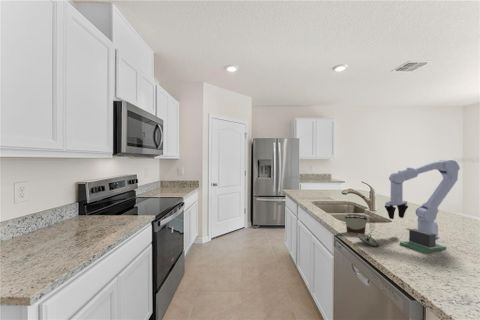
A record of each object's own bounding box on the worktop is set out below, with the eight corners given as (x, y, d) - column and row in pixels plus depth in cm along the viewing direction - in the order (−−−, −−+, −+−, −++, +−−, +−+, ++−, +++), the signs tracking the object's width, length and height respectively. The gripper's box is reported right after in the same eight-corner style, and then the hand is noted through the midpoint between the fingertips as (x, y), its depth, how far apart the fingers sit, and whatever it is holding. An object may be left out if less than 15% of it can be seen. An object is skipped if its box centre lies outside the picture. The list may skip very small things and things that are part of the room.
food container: (365, 231, 146) (365, 214, 146) (367, 234, 140) (367, 216, 140) (342, 229, 149) (342, 213, 149) (344, 232, 143) (344, 215, 143)
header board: (420, 241, 129) (420, 233, 129) (446, 249, 117) (446, 240, 117) (399, 244, 124) (399, 236, 123) (424, 253, 112) (424, 243, 112)
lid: (359, 239, 132) (359, 229, 132) (380, 243, 126) (380, 233, 126) (354, 244, 123) (354, 234, 123) (377, 249, 117) (377, 238, 117)
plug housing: (410, 238, 128) (410, 227, 128) (435, 246, 117) (435, 234, 117) (404, 239, 127) (404, 228, 127) (429, 247, 115) (429, 235, 115)
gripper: (399, 192, 145) (398, 215, 145) (380, 193, 140) (380, 217, 140) (410, 194, 139) (410, 218, 139) (392, 195, 134) (391, 220, 134)
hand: (396, 218), depth 139 cm, fingers open, 7 cm apart
